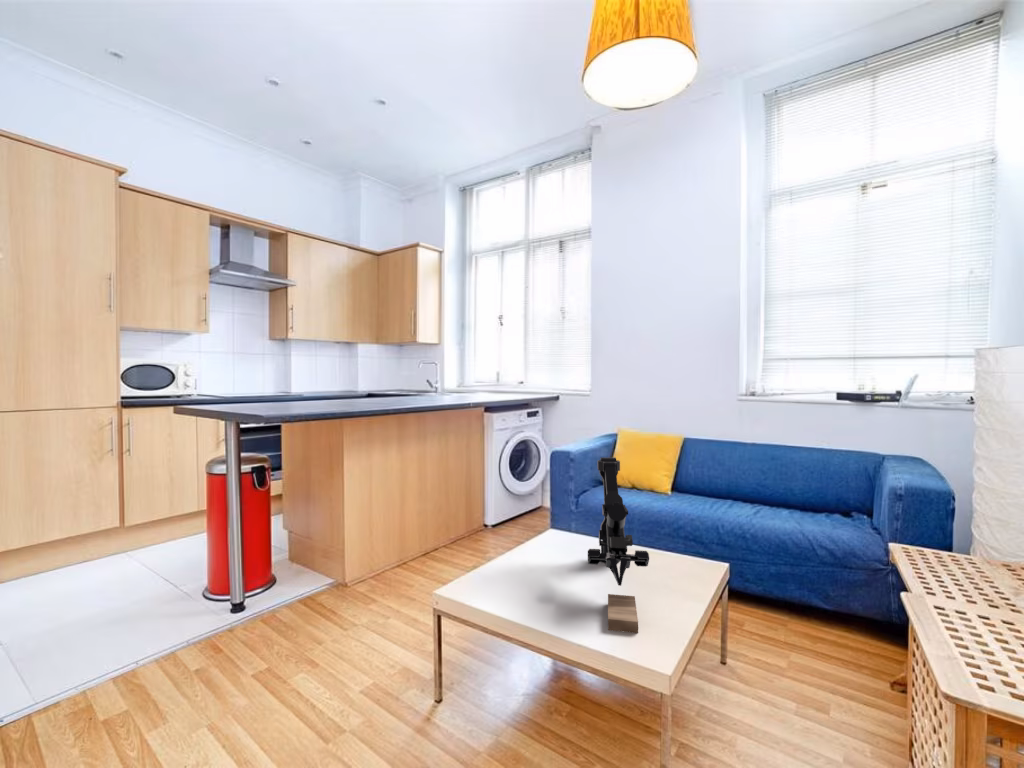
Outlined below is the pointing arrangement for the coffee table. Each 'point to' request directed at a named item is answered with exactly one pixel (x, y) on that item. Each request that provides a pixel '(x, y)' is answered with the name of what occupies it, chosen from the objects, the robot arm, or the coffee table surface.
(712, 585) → the coffee table surface
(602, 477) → the robot arm
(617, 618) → the walnut card box
